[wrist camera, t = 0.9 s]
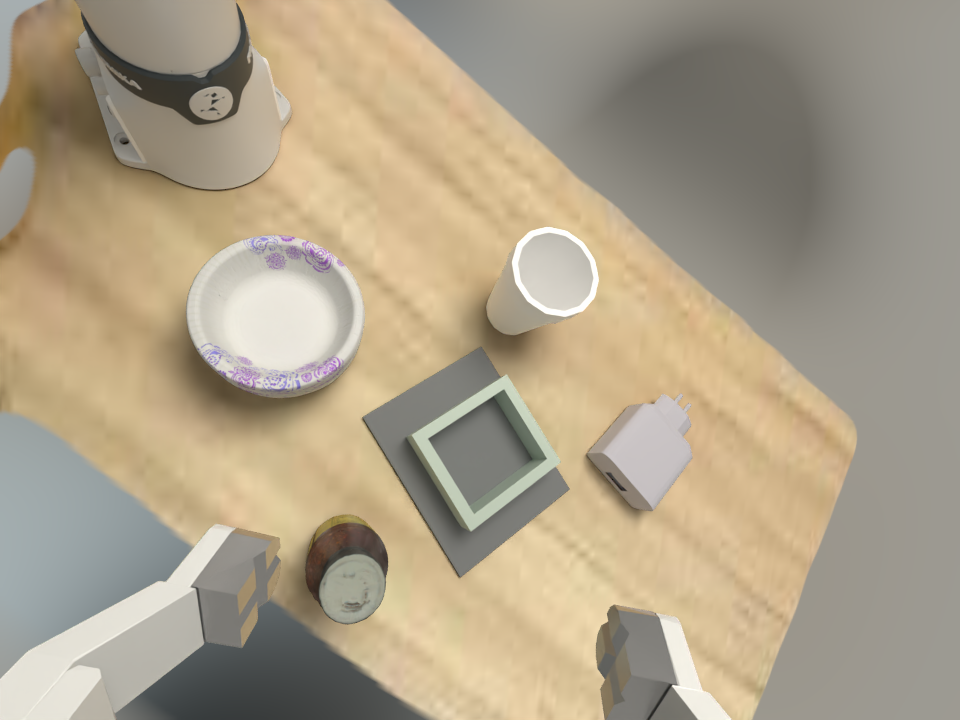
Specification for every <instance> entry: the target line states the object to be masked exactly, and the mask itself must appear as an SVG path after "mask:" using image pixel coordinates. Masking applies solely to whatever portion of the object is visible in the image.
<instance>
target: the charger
mask: <svg viewBox="0 0 960 720" xmlns="http://www.w3.org/2000/svg"><path fill="white" fill-rule="evenodd" d="M682 397H683V395H682V394H679V395H678V396H677V398H676V399H675V400H672V399H671V398H669V397H668V396H667V395H664V394H662V395H661V396H660V398H659V399H658V400H657V401H656V402H655V403H654V404H646V403H642V404H637V405H631V406H628V407H627V408H626V409H625V410H624V412H623V413H622V414H621V415H620V416H619V417H618V418H617V420H616V421H615V422H614V423H613V424H612V425H611V426H610V428H609V429H608V430H607V431H606V432H605V433H604V435H603V436H602V437H601V438H600V439H599V440H598V441H597V443H596V444H595V445H594V446H593V447H592V448H591V449H590V451H589V452H588V453H587V456H588V457H589V459H590V460H591V461H592V462H593V463H594V464H595V466H596V467H597V468H598V469H599V470H600V471H601V472H602V474H603V475H604V476H605V477H606V478H607V479H608V480H609V482H610V483H611V484H612V485H613V486H614V487H615V488H616V490H617V491H618V492H619V493H620V494H621V495H622V497H623V498H624V499H625V500H626V501H627V502H628V503H629V504H630V505H631V506H632V507H633V508H635V509H641V510H647V511H653V510H654V509H655V507H656V506H657V505H658V503H659V502H660V501H661V499H662V498H663V497H664V495H665V494H666V493H667V491H668V490H669V489H670V487H671V486H672V485H673V483H674V482H675V481H676V479H677V478H678V477H679V475H680V474H681V473H682V471H683V470H684V469H685V467H686V466H687V465H688V463H689V462H690V461H691V459H692V453H691V447H690V445H689V444H688V442H687V441H686V440H685V439H684V438H683V436H684V435H685V433H686V432H687V431H688V429H689V428H690V427H691V422H690V419H689V417H688V415H687V414H686V412H687V411H688V409H689V408H690V407H691V404H689V403H688V404H687V405H686V407H685V408H684V409H682V408H681V407H680V406H679V405H678V404H677V403H678V402H679V400H680V399H681V398H682ZM605 472H607V473H608V474H609V475H610V476H611V477H612V479H613V480H614V481H615V482H616V483H617V484H618V485H619V487H620V488H621V489H622V490H623V491H621V490H620V489H619V488H618V487H617V485H616V484H615V483H614V482H613V481H612V480H611V478H610V477H609V476H608V475H607V474H606V473H605Z"/></svg>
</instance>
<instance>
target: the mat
mask: <svg viewBox="0 0 960 720" xmlns="http://www.w3.org/2000/svg"><path fill="white" fill-rule="evenodd" d="M499 378H501V377H500V376H499V374H498V373H497V371H496V369H495V368H494V366H493V365H492V363H491V361H490V360H489V358H488V356H487V355H486V353H485V352H484V350H483V348H482V347H480V348H478V349H476V350H475V351H473V352H471V353H470V354H468V355H466V356H465V357H463V358H461V359H459V360H458V361H456V362H454V363H453V364H451V365H449V366H448V367H446V368H444V369H443V370H441V371H439V372H438V373H436V374H434V375H433V376H431V377H429V378H428V379H426V380H424V381H422V382H421V383H419V384H417V385H416V386H414V387H412V388H411V389H409V390H407V391H406V392H404V393H402V394H401V395H399V396H397V397H396V398H394V399H392V400H391V401H389V402H387V403H385V404H384V405H382V406H380V407H379V408H377V409H375V410H374V411H372V412H370V413H369V414H367V415H365V416H364V417H363V419H364V421H365V422H366V424H367V426H368V427H369V429H370V430H371V432H372V434H373V435H374V437H375V439H376V440H377V442H378V444H379V445H380V447H381V448H382V450H383V452H384V453H385V455H386V457H387V458H388V460H389V462H390V463H391V465H392V466H393V468H394V470H395V471H396V473H397V475H398V476H399V478H400V480H401V481H402V483H403V485H404V486H405V488H406V489H407V491H408V493H409V494H410V496H411V498H412V499H413V501H414V503H415V504H416V506H417V507H418V509H419V511H420V512H421V514H422V516H423V517H424V519H425V521H426V522H427V524H428V525H429V527H430V529H431V530H432V532H433V534H434V535H435V537H436V539H437V540H438V542H439V543H440V545H441V547H442V548H443V550H444V552H445V553H446V555H447V557H448V558H449V560H450V562H451V563H452V565H453V566H454V568H455V570H456V571H457V573H458V575H459V576H460V577H461V576H463V575H464V574H465V573H466V572H468V571H469V570H470V569H471V568H473V567H474V566H475V565H476V564H478V563H479V562H480V561H481V560H483V559H484V558H485V557H486V556H487V555H489V554H490V553H491V552H492V551H494V550H495V549H496V548H497V547H499V546H500V545H501V544H502V543H504V542H505V541H506V540H507V539H509V538H510V537H511V536H512V535H513V534H515V533H516V532H517V531H518V530H520V529H521V528H522V527H523V526H525V525H526V524H527V523H528V522H530V521H531V520H532V519H533V518H535V517H536V516H537V515H538V514H539V513H541V512H542V511H543V510H544V509H546V508H547V507H548V506H549V505H551V504H552V503H553V502H554V501H556V500H557V499H558V498H559V497H561V496H562V495H563V494H564V493H565V492H567V491H568V490H569V487H568V486H567V484H566V482H565V481H564V479H563V478H562V476H561V474H560V473H559V471H558V469H557V468H556V466H555V467H554V468H553V469H552V470H550V471H549V472H548V473H546V474H545V475H544V476H542V477H541V478H540V479H539V480H537V481H536V482H535V483H533V484H532V485H531V486H530V487H528V488H527V489H526V490H524V491H523V492H522V493H520V494H519V495H518V496H517V497H515V498H514V499H513V500H511V501H510V502H509V503H507V504H506V505H505V506H504V507H502V508H501V509H500V510H498V511H497V512H496V513H494V514H493V515H492V516H491V517H489V518H488V519H487V520H485V521H484V522H483V523H482V524H480V525H479V526H478V527H476V528H475V529H474V530H472V531H469V530H467V529H465V528H463V527H461V526H460V524H459V523H458V521H457V520H456V518H455V516H454V515H453V513H452V511H451V510H450V508H449V506H448V505H447V503H446V502H445V500H444V498H443V497H442V495H441V493H440V492H439V490H438V489H437V487H436V485H435V484H434V482H433V480H432V479H431V477H430V475H429V474H428V472H427V471H426V469H425V467H424V466H423V464H422V462H421V461H420V459H419V457H418V456H417V454H416V453H415V451H414V449H413V448H412V446H411V444H410V443H409V441H408V440H407V438H406V437H407V436H408V435H410V434H411V433H413V432H415V431H416V430H418V429H419V428H421V427H422V426H424V425H426V424H427V423H429V422H430V421H432V420H433V419H435V418H437V417H438V416H440V415H441V414H443V413H444V412H446V411H448V410H449V409H451V408H452V407H454V406H455V405H457V404H459V403H460V402H462V401H463V400H465V399H466V398H468V397H470V396H471V395H473V394H474V393H476V392H477V391H479V390H481V389H482V388H484V387H485V386H487V385H488V384H490V383H492V382H493V381H495V380H497V379H499ZM428 440H429V441H430V443H431V445H432V446H433V448H434V450H435V451H436V453H437V454H438V456H439V458H440V459H441V461H442V463H443V464H444V466H445V467H446V469H447V471H448V472H449V474H450V476H451V477H452V479H453V481H454V482H455V484H456V485H457V487H458V489H459V490H460V492H461V494H462V495H463V497H464V498H465V500H466V502H467V503H468V505H469V506H470V505H472V504H473V503H474V502H476V501H477V500H478V499H480V498H481V497H482V496H484V495H485V494H486V493H488V492H489V491H490V490H492V489H493V488H494V487H496V486H497V485H498V484H500V483H501V482H503V481H504V480H505V479H507V478H508V477H509V476H511V475H512V474H513V473H515V472H516V471H517V470H519V469H520V468H521V467H523V466H524V465H525V464H527V463H528V462H529V461H531V460H532V457H531V456H530V454H529V453H528V451H527V449H526V448H525V446H524V444H523V443H522V441H521V440H520V438H519V436H518V435H517V433H516V432H515V430H514V428H513V427H512V425H511V423H510V422H509V420H508V419H507V417H506V415H505V414H504V412H503V410H502V409H501V407H500V406H499V404H498V402H497V401H496V399H495V398H494V396H493V397H491V398H489V399H488V400H486V401H485V402H483V403H482V404H480V405H479V406H477V407H476V408H474V409H473V410H471V411H470V412H468V413H466V414H465V415H463V416H462V417H460V418H459V419H457V420H456V421H454V422H453V423H451V424H450V425H448V426H447V427H445V428H443V429H442V430H440V431H439V432H437V433H436V434H434V435H433V436H431V437H430V438H428Z"/></svg>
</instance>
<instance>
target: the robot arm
mask: <svg viewBox="0 0 960 720" xmlns="http://www.w3.org/2000/svg"><path fill="white" fill-rule="evenodd" d="M75 1H76V3H77V5H78V6H79V8H80V10H81V17H82V20H83V24H84V27H85V29H86V30H85V31H84V32H83V33H82V34H81V35H80V36H79V38H78V42H79V46H80V48H77V49H75V53H76V56H77V58H78V60H79V62H80V64H81V66H82V68H83V70H84V71H85V73H86V75H87V76H89V77H90V80H91V83H92V86H93V89H94V92H95V95H96V98H97V101H98V104H99V107H100V110H101V114H102V117H103V120H104V123H105V126H106V129H107V132H108V135H109V138H110V141H111V144H112V147H113V150H114V153H115V155H116V157H117V159H118V160H119V161H120V162H121V163H122V164H124V165H127V166H130V167H134V168H140V169H146V170H153V171H156V172H158V173H160V174H162V175H164V176H166V177H168V178H170V179H172V180H174V181H176V182H179V183H182V184H184V185H188V186H191V187H196V188H201V189H228V188H234V187H238V186H241V185H244V184H247V183H249V182H251V181H253V180H255V179H256V178H258V177H259V176H261V175H262V174H263V173H264V172H265V171H267V169H268V168H269V167H270V166H271V165H272V163H273V162H274V160H275V158H276V156H277V153H278V150H279V146H280V138H281V132H282V129H283V128H284V126H285V125H286V124H287V122H288V121H289V119H290V117H291V115H292V109H291V105H290V103H289V101H288V100H287V99H286V98H285V97H284V95H283V94H282V93H281V92H280V91H279V90H278V89H277V88H276V87H275V85H274V84H273V80H272V76H271V72H270V68H269V64H268V62H267V60H266V58H265V57H261V55H260V54H259V53H258V51H257V50H256V49H255V48H254V47H253V46H252V45H251V39H250V35H249V31H248V27H247V25H246V23H245V20H244V17H243V14H242V12H241V9H240V8H239V6H238V4H237V3H236V1H235V0H75ZM124 142H129V143H128V144H127V145H123V143H124ZM279 549H280V538H278V537H274V536H270V535H265V534H261V533H257V532H252V531H248V530H244V529H239V528H235V527H230V526H225V525H221V524H215V525H214V526H212V527H211V528H209V529H208V531H207V532H206V533H205V534H204V535H203V537H202V538H201V539H200V540H199V542H198V543H197V544H196V545H195V546H194V548H193V549H192V550H191V551H190V553H189V554H188V555H187V556H186V558H185V559H184V560H183V561H182V562H181V564H180V565H179V566H178V567H177V569H176V570H175V571H174V572H173V574H172V575H171V576H170V577H169V578H168V580H167V581H166V582H162V581H158V582H156V583H154V584H153V585H151V586H149V587H147V588H145V589H143V590H141V591H139V592H137V593H136V594H134V595H132V596H130V597H128V598H127V599H124V600H123V601H121V602H119V603H117V604H115V605H113V606H111V607H110V608H108V609H106V610H104V611H102V612H100V613H98V614H97V615H95V616H93V617H91V618H89V619H87V620H85V621H83V622H81V623H80V624H78V625H76V626H74V627H72V628H70V629H68V630H67V631H65V632H63V633H61V634H59V635H57V636H55V637H54V638H52V639H50V640H48V641H46V642H44V643H42V644H40V645H39V646H37V647H35V648H33V649H31V650H29V651H27V652H26V653H25V654H24V655H23V656H22V657H21V658H20V659H19V660H18V661H17V662H16V664H15V665H14V666H13V667H12V668H11V669H10V670H9V671H8V672H7V673H6V674H5V675H4V676H3V677H2V678H1V679H0V720H117V719H116V716H115V713H116V712H117V711H119V710H120V709H121V708H122V707H124V706H125V705H126V704H128V703H129V702H130V701H131V700H133V699H134V698H135V697H137V696H138V695H139V694H141V693H142V692H143V691H144V690H146V689H147V688H148V687H150V686H151V685H152V684H153V683H155V682H156V681H157V680H159V679H160V678H161V677H162V676H164V675H165V674H166V673H168V672H169V671H170V670H171V669H173V668H174V667H175V666H176V665H178V664H179V663H180V662H182V661H183V660H184V659H185V658H187V657H188V656H189V655H191V654H192V653H193V652H194V651H196V650H197V649H198V648H200V647H201V646H202V645H203V644H204V642H210V643H216V644H222V645H228V646H234V647H240V648H242V647H243V645H244V643H245V642H246V640H247V638H248V636H249V635H250V633H251V631H252V629H253V627H254V626H255V624H256V622H257V620H258V611H257V608H259V607H260V606H262V605H263V604H265V603H266V602H268V601H269V599H270V597H271V595H272V593H273V591H274V589H275V586H276V584H277V581H278V578H279V574H280V568H281V560H280V559H279V558H278V557H277V555H276V554H277V552H278V550H279ZM607 616H608V622H607V623H605V624H603V625H601V628H600V630H599V633H598V636H597V643H596V660H597V668H598V670H599V671H600V673H601V674H602V676H603V677H604V679H605V681H604V683H603V685H602V687H601V689H600V690H601V697H602V704H603V711H604V718H605V720H732V719H731V718H730V717H729V716H728V714H727V713H726V712H725V711H724V710H723V708H722V707H721V706H720V705H719V704H718V702H717V701H716V700H715V699H714V698H713V696H712V695H711V694H710V693H709V692H705V691H703V690H702V687H701V684H700V681H699V678H698V675H697V672H696V669H695V666H694V663H693V660H692V657H691V654H690V651H689V648H688V645H687V642H686V639H685V636H684V633H683V630H682V627H681V624H680V621H679V620H678V619H677V617H674V616H669V615H664V614H658V613H654V612H651V611H646V610H640V609H635V608H630V607H624V606H619V605H613V606H611V607H610V609H609V611H608V613H607Z"/></svg>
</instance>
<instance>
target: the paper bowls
mask: <svg viewBox="0 0 960 720" xmlns="http://www.w3.org/2000/svg"><path fill="white" fill-rule="evenodd" d="M186 319H187V326H188V330H189V334H190V337H191V340H192V342H193V344H194V346H195V348H196V349H197V351H198V353H199V355H200V356H201V357H202V358H203V360H204V361H205V362H206V363H207V364H208V365H209V366H210V367H211V368H212V369H213V370H215V372H217V373H218V374H219V375H220V376H221V377H223V378H224V379H225V380H227V381H228V382H229V383H231V384H233V385H234V386H236V387H238V388H240V389H242V390H245V391H247V392H250V393H252V394H255V395H259V396H265V397H271V398H288V397H296V396H301V395H305V394H308V393H311V392H314V391H316V390H319V389H321V388H323V387H325V386H327V385H329V384H330V383H332V382H333V381H334V380H336V379H337V378H338V377H339V376H340V375H341V374H342V373H343V372H344V371H345V370H346V369H347V367H348V366H349V365H350V363H351V362H352V360H353V359H354V357H355V355H356V353H357V350H358V348H359V345H360V342H361V338H362V334H363V328H364V322H365V308H364V302H363V297H362V293H361V290H360V288H359V285H358V283H357V281H356V280H355V278H354V276H353V275H352V273H351V272H350V271H349V269H348V268H347V267H346V266H345V265H344V264H343V263H342V262H341V261H340V260H339V259H338V258H337V257H336V256H335V255H333V254H332V253H330V252H329V251H327V250H326V249H324V248H322V247H320V246H319V245H316V244H314V243H312V242H309V241H307V240H303V239H299V238H296V237H291V236H283V235H282V236H281V235H266V236H257V237H253V238H248V239H245V240H242V241H239V242H236V243H234V244H232V245H230V246H228V247H226V248H224V249H223V250H221V251H220V252H218V253H217V254H216V255H214V256H213V257H212V258H211V259H210V260H209V261H208V262H207V263H206V264H205V265H204V266H203V267H202V268H201V270H200V271H199V273H198V274H197V275H196V277H195V279H194V281H193V283H192V286H191V287H190V290H189V294H188V298H187V304H186Z"/></svg>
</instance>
